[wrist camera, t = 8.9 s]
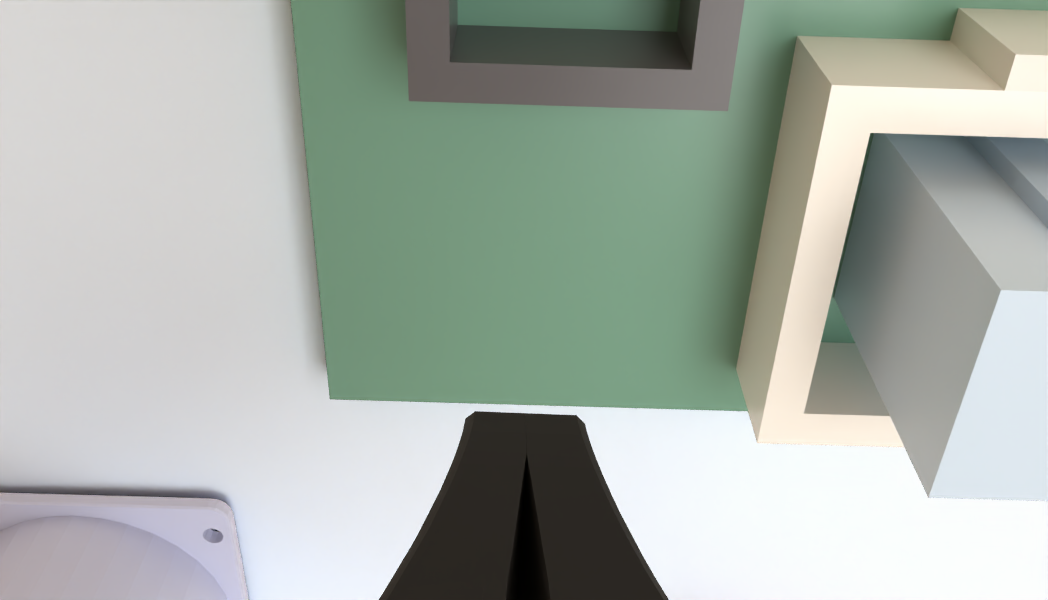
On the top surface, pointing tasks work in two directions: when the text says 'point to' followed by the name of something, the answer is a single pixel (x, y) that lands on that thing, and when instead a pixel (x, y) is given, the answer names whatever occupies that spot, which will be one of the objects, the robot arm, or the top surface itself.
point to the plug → (956, 306)
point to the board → (551, 211)
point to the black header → (574, 61)
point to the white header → (829, 192)
